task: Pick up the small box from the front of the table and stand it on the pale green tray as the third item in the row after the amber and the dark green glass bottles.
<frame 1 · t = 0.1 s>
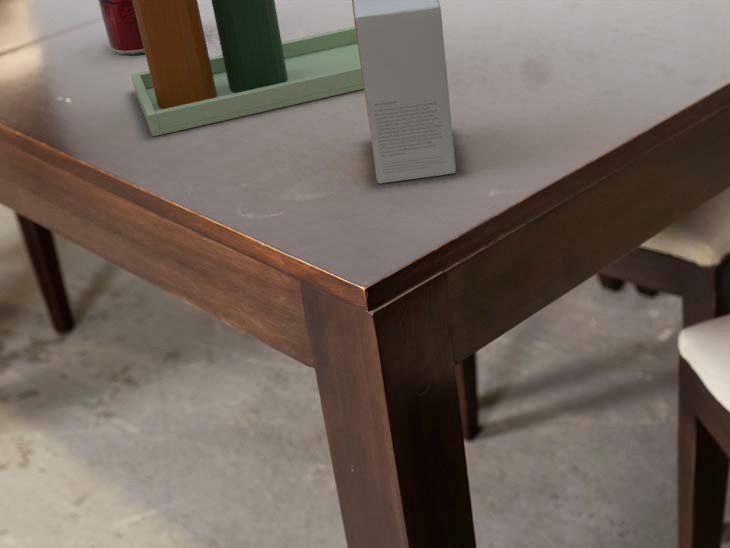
tray: (274, 85, 107), on the table
green bottle: (259, 88, 107), resting on tray
soda can: (144, 46, 123), on the table
small box: (412, 161, 89), on the table
amber bottle: (188, 104, 105), resting on tray
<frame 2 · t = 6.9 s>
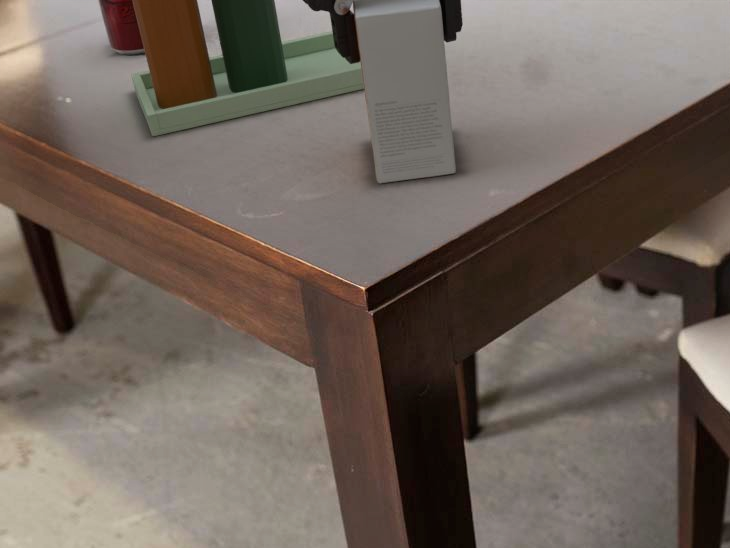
hand: (400, 49, 84), 9 cm above the table, tool pointing down, fingers closed on small box, 7 cm apart
small box: (412, 161, 89), on the table, touching gripper
everything else where it was.
when the fingers open (9 cm above the table, at t = 14.5 s): small box stays where it is, resting on tray.
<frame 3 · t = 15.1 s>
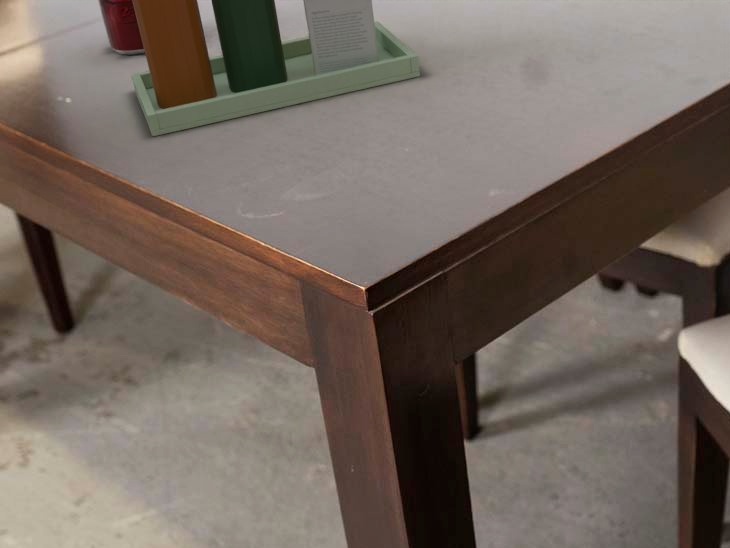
small box: (346, 65, 108), resting on tray
everything else where it was.
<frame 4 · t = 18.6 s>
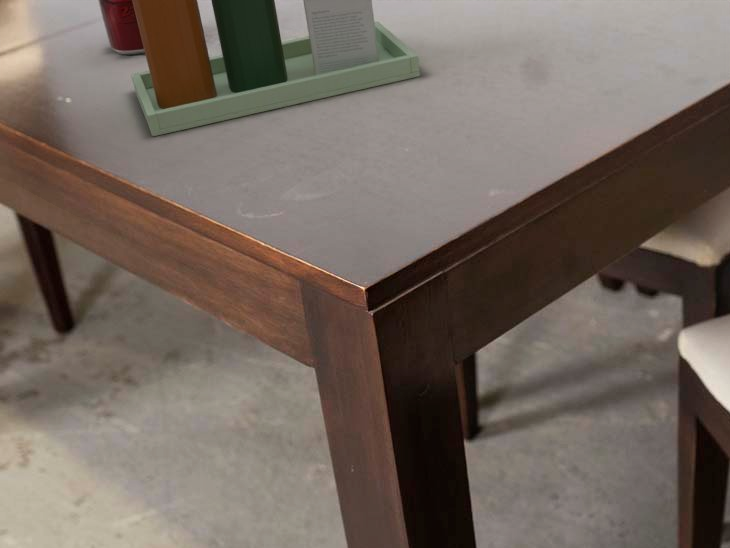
nothing on the table moved.
at the end: small box 0.1 cm from the target spot in the tray, point 0.3 cm above the tray's base; small box tilted 0°; the gripper is holding nothing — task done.
